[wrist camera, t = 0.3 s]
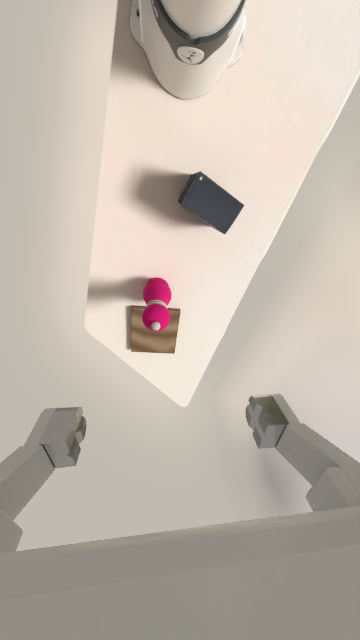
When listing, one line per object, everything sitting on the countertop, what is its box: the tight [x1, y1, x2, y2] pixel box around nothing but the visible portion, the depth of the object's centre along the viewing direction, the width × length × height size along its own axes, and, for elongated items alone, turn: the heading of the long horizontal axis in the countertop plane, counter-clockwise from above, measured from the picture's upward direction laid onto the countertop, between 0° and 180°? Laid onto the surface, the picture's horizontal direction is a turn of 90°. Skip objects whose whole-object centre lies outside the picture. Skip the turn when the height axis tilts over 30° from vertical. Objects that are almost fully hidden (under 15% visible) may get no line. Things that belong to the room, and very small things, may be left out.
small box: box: [178, 171, 244, 234], centre depth 43 cm, size 11×6×10 cm, turn 59°
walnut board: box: [131, 306, 180, 354], centre depth 64 cm, size 16×14×2 cm
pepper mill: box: [142, 278, 171, 331], centre depth 49 cm, size 7×7×20 cm
